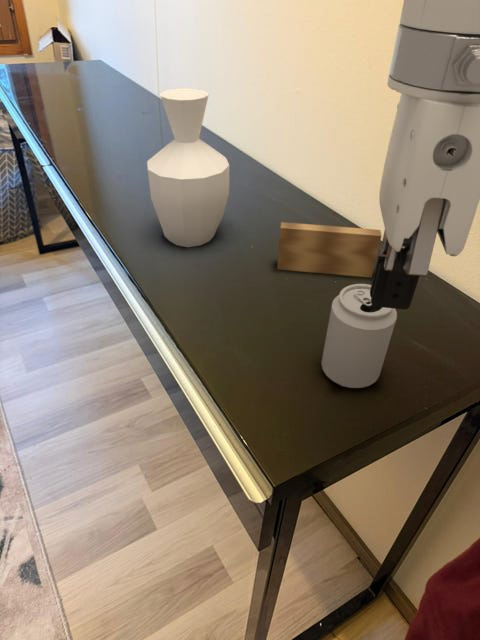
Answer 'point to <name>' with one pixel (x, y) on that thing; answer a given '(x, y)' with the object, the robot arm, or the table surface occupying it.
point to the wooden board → (328, 249)
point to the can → (356, 338)
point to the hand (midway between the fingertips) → (388, 301)
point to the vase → (188, 174)
